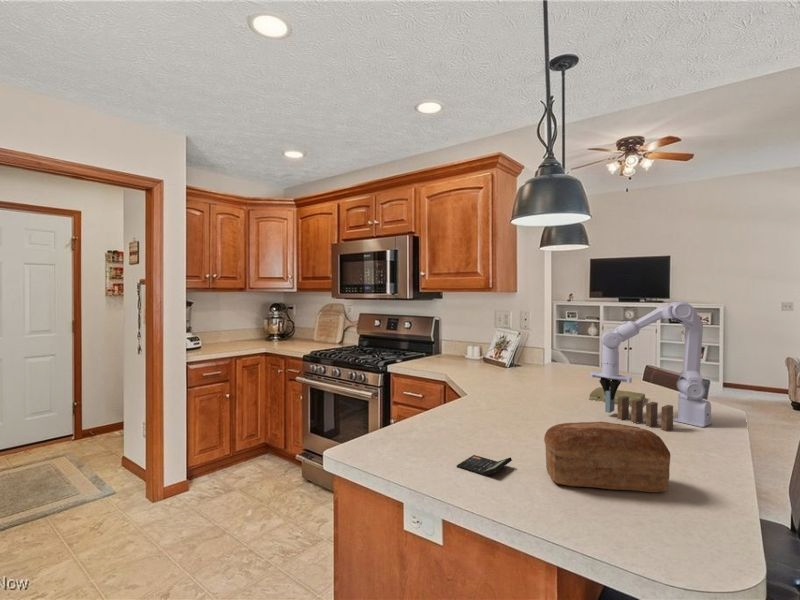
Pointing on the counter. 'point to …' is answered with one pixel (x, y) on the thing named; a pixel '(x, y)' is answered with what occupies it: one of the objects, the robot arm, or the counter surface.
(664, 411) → the domino
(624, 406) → the domino
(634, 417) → the domino
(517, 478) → the counter surface
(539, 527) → the counter surface
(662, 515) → the counter surface
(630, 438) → the bread
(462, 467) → the calculator
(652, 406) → the domino
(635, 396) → the decorative tile
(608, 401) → the domino
